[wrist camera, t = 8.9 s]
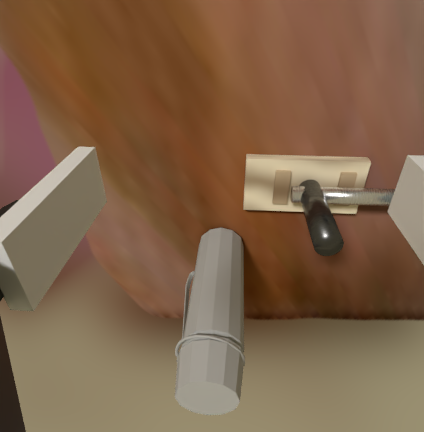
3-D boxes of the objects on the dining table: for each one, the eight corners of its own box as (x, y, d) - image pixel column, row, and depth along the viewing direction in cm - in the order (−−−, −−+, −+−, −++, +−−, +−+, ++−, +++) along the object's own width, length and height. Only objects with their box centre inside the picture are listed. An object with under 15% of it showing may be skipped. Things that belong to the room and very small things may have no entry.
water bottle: (229, 216, 50) (219, 370, 29) (252, 250, 53) (259, 411, 33) (180, 238, 53) (140, 391, 32) (205, 269, 57) (184, 426, 36)
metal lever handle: (286, 205, 47) (299, 268, 36) (292, 161, 43) (310, 216, 32) (416, 210, 46) (471, 276, 35) (435, 165, 42) (503, 224, 31)
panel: (246, 154, 44) (246, 160, 42) (367, 157, 43) (372, 163, 41) (243, 204, 48) (243, 211, 47) (353, 208, 47) (357, 215, 46)
